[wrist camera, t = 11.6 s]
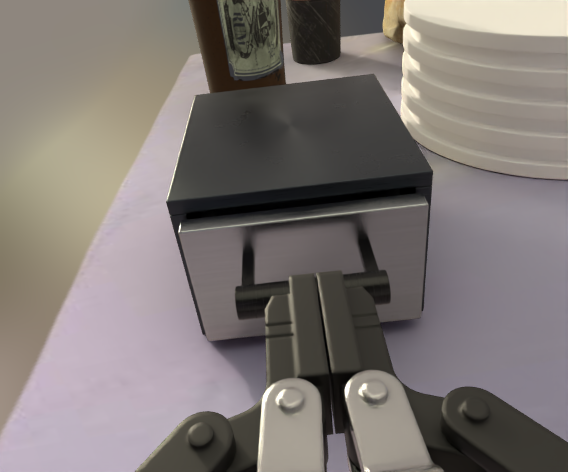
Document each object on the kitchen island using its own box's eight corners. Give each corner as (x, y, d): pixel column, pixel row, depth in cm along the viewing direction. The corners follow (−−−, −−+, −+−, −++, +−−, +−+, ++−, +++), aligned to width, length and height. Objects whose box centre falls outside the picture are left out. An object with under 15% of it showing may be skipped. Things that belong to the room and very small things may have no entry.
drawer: (443, 377, 27) (457, 256, 22) (201, 403, 27) (165, 288, 22) (373, 192, 42) (373, 99, 37) (220, 210, 42) (201, 119, 38)
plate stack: (664, 216, 37) (727, 54, 30) (348, 134, 54) (344, 18, 47) (733, 90, 53) (784, -35, 46) (472, 57, 69) (483, -38, 63)
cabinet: (423, 310, 32) (433, 170, 26) (202, 335, 32) (165, 201, 27) (374, 185, 45) (374, 73, 39) (217, 203, 45) (194, 94, 39)
